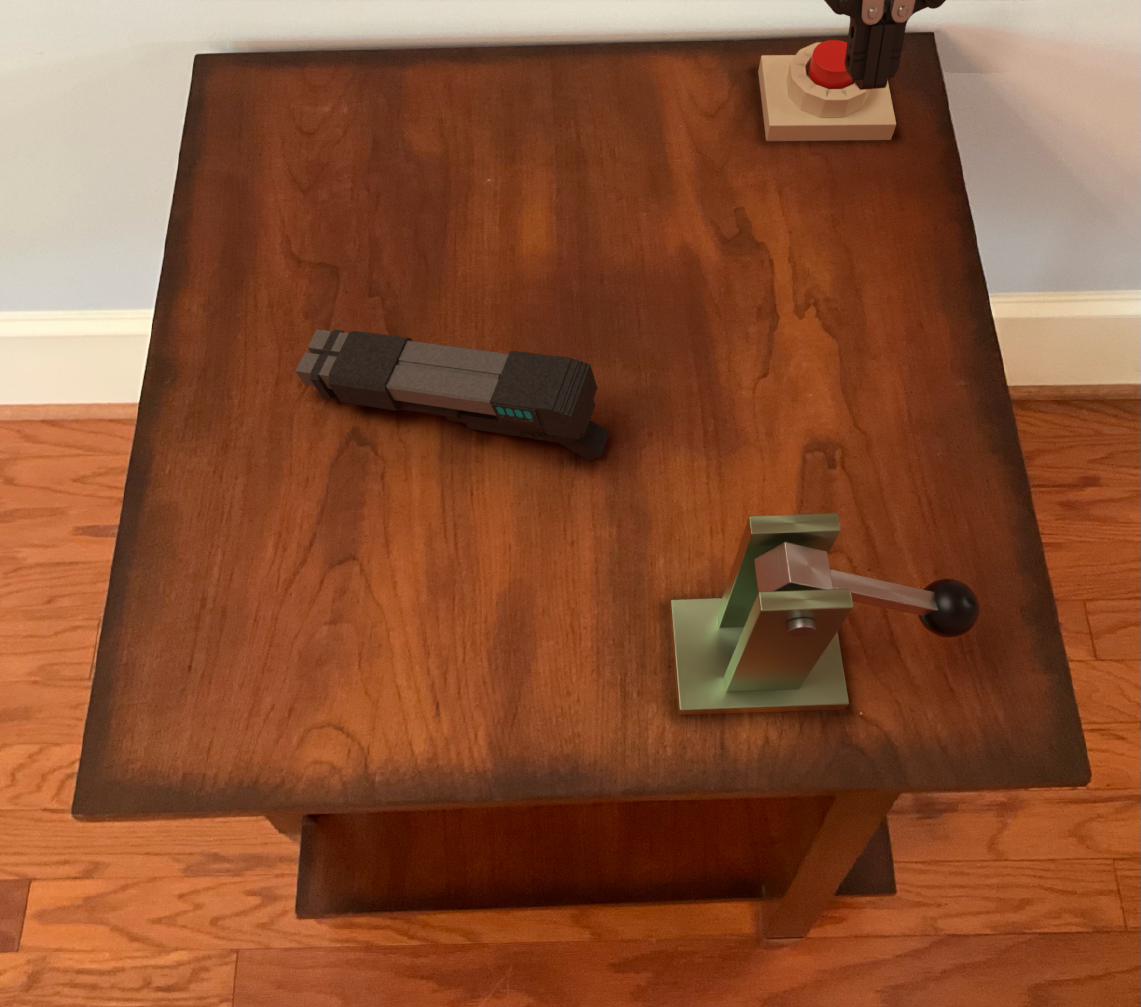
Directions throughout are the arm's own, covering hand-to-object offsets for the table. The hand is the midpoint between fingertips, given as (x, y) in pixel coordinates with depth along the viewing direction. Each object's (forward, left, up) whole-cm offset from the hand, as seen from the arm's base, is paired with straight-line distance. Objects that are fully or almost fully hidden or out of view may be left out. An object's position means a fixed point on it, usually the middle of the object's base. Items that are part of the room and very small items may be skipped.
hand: (869, 84), depth 60 cm
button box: (+5, -17, -17) cm, 24 cm away
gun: (+19, +22, -17) cm, 33 cm away
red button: (+5, -17, -14) cm, 22 cm away
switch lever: (-10, +28, -8) cm, 31 cm away
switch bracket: (-6, +30, -17) cm, 35 cm away
